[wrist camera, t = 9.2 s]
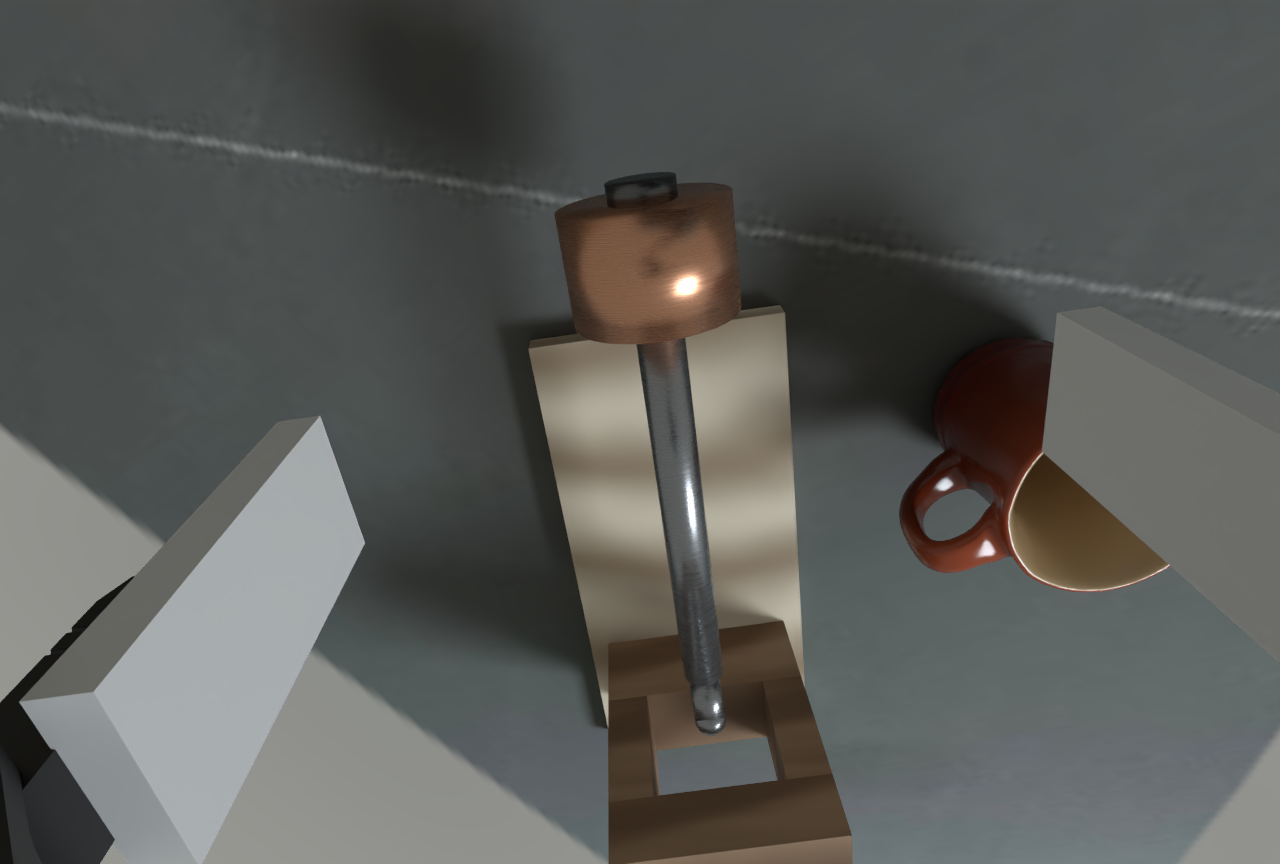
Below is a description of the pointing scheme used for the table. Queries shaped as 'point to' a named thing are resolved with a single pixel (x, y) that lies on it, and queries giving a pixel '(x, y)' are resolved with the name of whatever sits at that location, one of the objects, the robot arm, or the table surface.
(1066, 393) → the robot arm
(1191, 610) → the table surface
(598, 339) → the copper and grey mallet
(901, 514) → the mug
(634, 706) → the eye block
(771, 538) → the board
